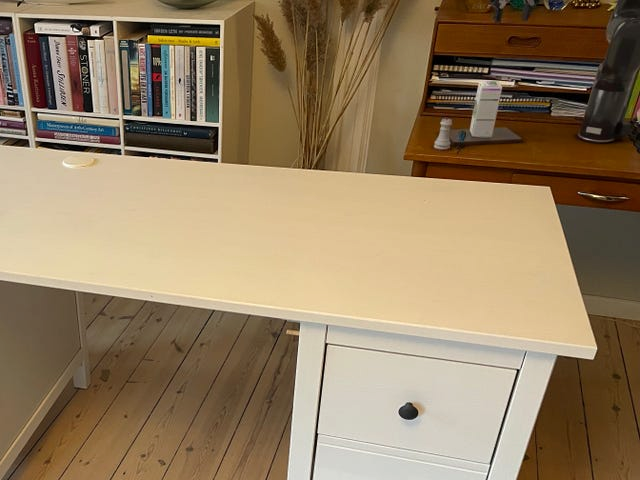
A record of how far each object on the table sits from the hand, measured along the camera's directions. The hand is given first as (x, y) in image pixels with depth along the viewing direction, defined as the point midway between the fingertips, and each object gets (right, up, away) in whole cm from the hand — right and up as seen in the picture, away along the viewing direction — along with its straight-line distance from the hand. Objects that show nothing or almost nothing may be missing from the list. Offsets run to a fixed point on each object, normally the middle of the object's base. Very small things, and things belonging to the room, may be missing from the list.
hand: (510, 21), depth 207 cm
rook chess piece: (-18, -35, +3) cm, 40 cm away
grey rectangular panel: (-5, -30, +9) cm, 32 cm away
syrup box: (-5, -29, +9) cm, 31 cm away
